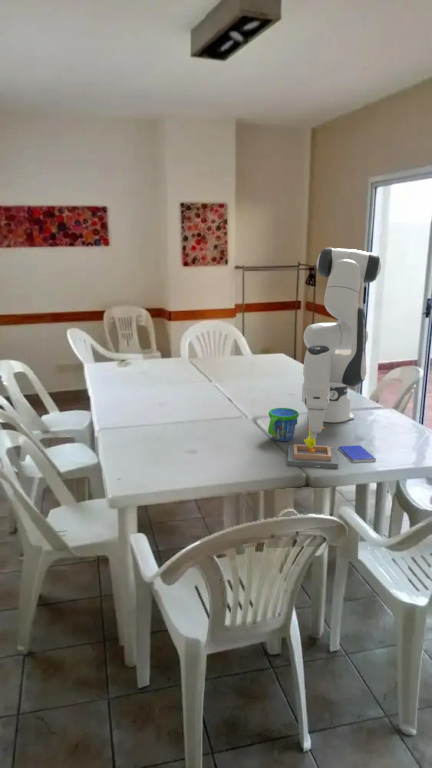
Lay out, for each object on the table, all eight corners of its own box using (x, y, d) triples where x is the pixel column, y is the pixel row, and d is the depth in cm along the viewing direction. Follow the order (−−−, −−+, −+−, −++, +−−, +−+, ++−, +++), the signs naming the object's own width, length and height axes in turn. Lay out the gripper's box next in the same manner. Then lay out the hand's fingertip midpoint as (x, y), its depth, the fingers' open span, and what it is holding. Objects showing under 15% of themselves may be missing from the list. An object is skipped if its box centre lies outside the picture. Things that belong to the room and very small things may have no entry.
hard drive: (376, 458, 186) (360, 445, 197) (352, 459, 184) (338, 446, 196) (375, 462, 186) (360, 449, 198) (352, 464, 185) (338, 450, 197)
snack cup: (279, 447, 197) (280, 419, 195) (257, 439, 205) (258, 412, 202) (307, 437, 207) (308, 410, 205) (285, 430, 215) (286, 404, 212)
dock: (287, 449, 195) (288, 441, 194) (334, 452, 193) (335, 444, 192) (287, 465, 182) (287, 456, 181) (337, 468, 180) (338, 459, 179)
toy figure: (321, 449, 189) (323, 415, 186) (324, 453, 186) (326, 418, 183) (301, 449, 188) (303, 415, 185) (303, 453, 185) (305, 418, 182)
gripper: (305, 387, 192) (303, 426, 196) (306, 404, 173) (304, 447, 176) (323, 388, 192) (321, 426, 195) (327, 405, 172) (324, 448, 176)
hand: (313, 436), depth 186 cm, fingers closed on toy figure, 2 cm apart
